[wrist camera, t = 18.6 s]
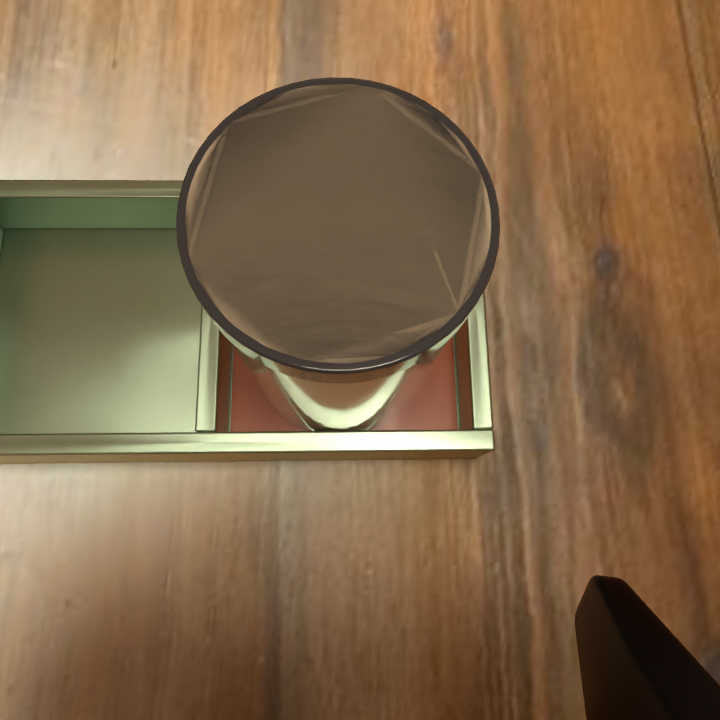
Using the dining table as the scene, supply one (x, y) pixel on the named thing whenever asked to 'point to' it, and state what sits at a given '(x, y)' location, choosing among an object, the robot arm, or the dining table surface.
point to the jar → (338, 244)
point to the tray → (168, 349)
